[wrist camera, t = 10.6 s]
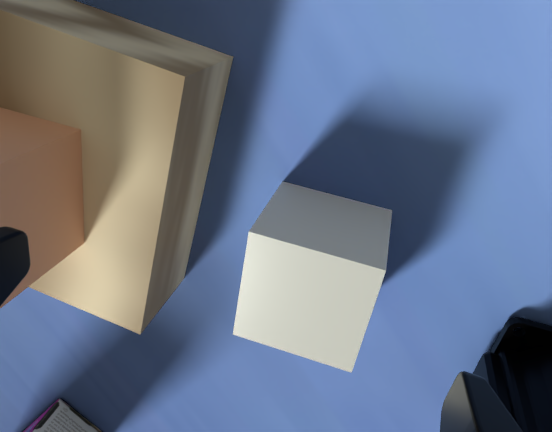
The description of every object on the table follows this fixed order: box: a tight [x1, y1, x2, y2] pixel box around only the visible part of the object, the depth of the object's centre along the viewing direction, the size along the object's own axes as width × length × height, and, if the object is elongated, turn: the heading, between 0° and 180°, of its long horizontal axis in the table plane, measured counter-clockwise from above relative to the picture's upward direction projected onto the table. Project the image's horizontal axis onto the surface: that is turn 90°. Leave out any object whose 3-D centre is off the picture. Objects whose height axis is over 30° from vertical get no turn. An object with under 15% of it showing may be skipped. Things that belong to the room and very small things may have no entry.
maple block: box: [0, 0, 233, 334], centre depth 21 cm, size 12×12×5 cm
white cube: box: [233, 181, 392, 373], centre depth 20 cm, size 5×5×5 cm
